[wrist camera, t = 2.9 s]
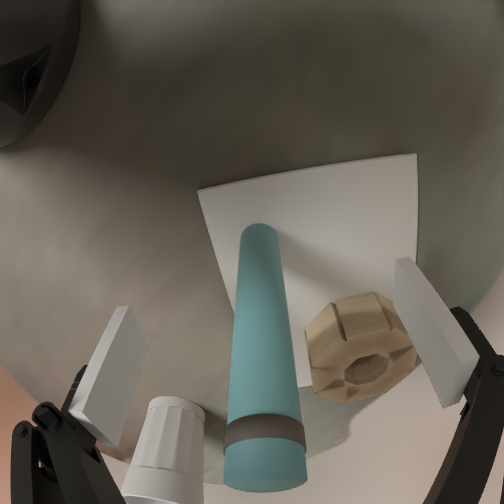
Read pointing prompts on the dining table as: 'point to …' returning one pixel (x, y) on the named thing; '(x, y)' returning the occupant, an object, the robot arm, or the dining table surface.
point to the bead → (358, 348)
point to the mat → (321, 232)
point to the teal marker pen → (263, 376)
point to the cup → (168, 455)
